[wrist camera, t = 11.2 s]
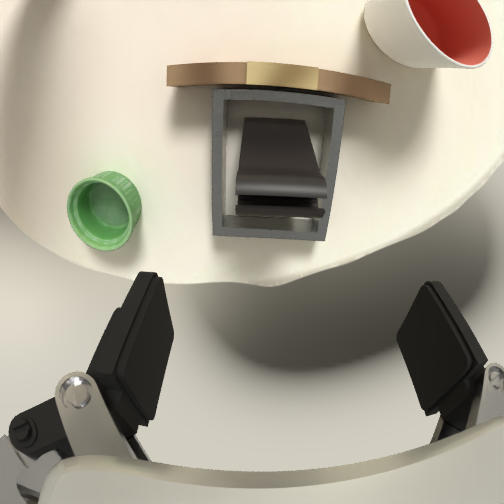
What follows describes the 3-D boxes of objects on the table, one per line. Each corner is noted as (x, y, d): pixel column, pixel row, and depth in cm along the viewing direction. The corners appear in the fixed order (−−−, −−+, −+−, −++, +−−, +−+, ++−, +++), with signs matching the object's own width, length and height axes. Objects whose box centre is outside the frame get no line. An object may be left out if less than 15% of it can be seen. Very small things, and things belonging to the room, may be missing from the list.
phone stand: (245, 117, 26) (235, 132, 15) (304, 120, 26) (334, 138, 15) (243, 198, 30) (235, 259, 20) (297, 200, 30) (317, 262, 20)
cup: (432, 81, 21) (489, 88, 13) (354, 49, 21) (398, 34, 12) (439, 14, 16) (492, 4, 8) (363, -22, 15) (403, -54, 7)
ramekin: (125, 245, 34) (112, 264, 30) (75, 206, 31) (58, 221, 27) (159, 196, 30) (146, 212, 27) (103, 152, 27) (83, 162, 24)
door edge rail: (178, 87, 24) (165, 86, 20) (179, 68, 23) (166, 64, 19) (372, 102, 24) (390, 104, 20) (374, 83, 23) (392, 83, 19)
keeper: (216, 222, 32) (212, 235, 29) (217, 89, 24) (212, 89, 21) (319, 228, 32) (324, 241, 29) (336, 99, 24) (345, 99, 21)
